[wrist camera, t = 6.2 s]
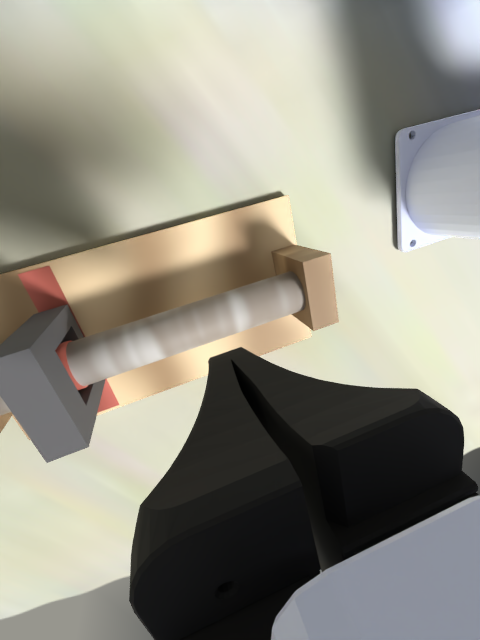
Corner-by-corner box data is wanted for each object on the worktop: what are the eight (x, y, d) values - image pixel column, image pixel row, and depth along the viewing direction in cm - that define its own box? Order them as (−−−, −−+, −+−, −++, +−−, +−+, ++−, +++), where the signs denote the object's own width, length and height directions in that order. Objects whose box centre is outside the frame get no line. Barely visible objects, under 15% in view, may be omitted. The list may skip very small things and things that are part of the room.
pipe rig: (284, 195, 19) (327, 191, 14) (307, 333, 23) (346, 364, 18) (-65, 291, 16) (-151, 325, 11) (32, 433, 20) (-3, 500, 15)
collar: (67, 304, 17) (29, 348, 11) (105, 379, 19) (88, 446, 14) (33, 314, 17) (-22, 364, 11) (76, 390, 19) (46, 462, 13)
